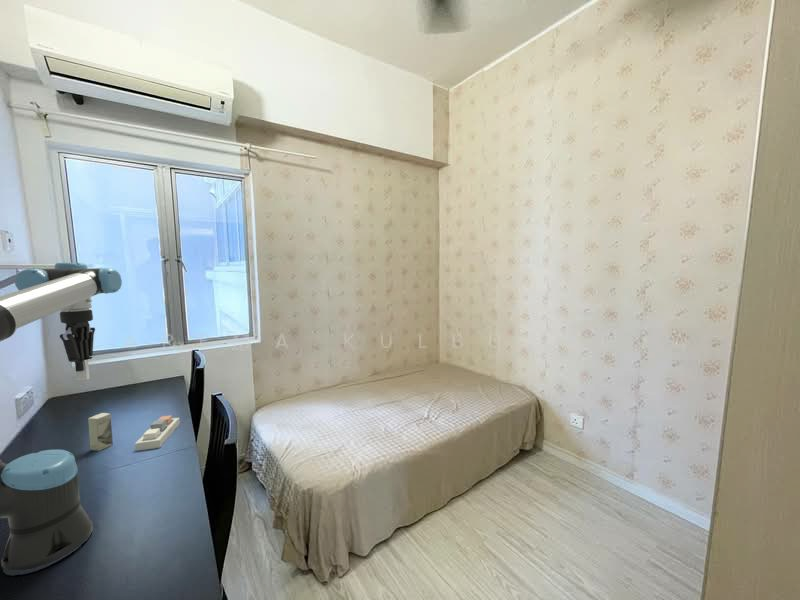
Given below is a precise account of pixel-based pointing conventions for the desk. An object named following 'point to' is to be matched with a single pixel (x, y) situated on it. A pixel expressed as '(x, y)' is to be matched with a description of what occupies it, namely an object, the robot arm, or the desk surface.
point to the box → (100, 431)
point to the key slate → (159, 424)
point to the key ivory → (151, 434)
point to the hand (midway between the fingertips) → (83, 379)
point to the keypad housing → (161, 439)
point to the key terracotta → (168, 419)
